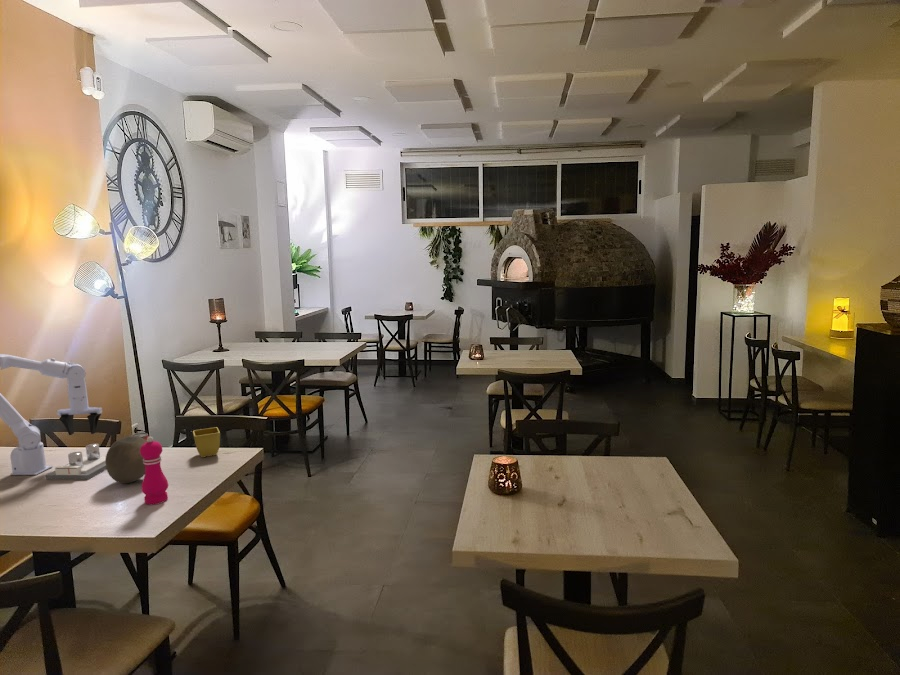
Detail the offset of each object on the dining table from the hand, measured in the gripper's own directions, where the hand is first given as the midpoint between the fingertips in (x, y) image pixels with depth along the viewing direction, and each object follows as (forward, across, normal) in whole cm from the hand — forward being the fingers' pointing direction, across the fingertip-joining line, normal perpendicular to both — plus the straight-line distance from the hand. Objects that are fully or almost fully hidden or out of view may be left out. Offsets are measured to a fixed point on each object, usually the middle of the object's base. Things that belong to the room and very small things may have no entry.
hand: (82, 433), depth 216 cm
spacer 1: (+8, +4, -13) cm, 16 cm away
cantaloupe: (+11, +26, -24) cm, 37 cm away
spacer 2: (+8, +5, -5) cm, 11 cm away
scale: (+10, +4, -10) cm, 15 cm away
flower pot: (+11, +44, 0) cm, 45 cm away
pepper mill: (+11, +40, -42) cm, 59 cm away
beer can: (+11, +24, -11) cm, 29 cm away
